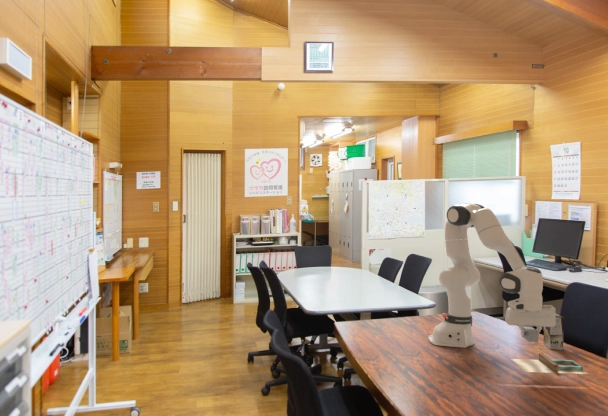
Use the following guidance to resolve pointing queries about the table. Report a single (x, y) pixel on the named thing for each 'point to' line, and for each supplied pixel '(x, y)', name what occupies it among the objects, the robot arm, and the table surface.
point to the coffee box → (554, 334)
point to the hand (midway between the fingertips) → (529, 335)
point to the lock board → (549, 365)
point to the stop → (530, 334)
